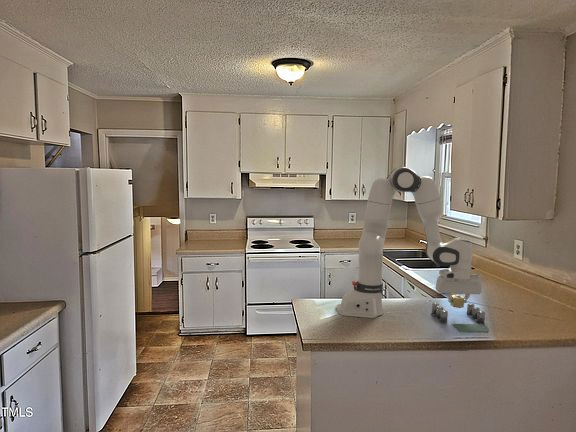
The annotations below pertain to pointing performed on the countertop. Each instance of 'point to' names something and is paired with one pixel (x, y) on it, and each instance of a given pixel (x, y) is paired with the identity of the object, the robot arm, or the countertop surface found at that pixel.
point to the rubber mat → (469, 328)
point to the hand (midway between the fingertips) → (457, 302)
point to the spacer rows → (471, 311)
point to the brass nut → (457, 301)
